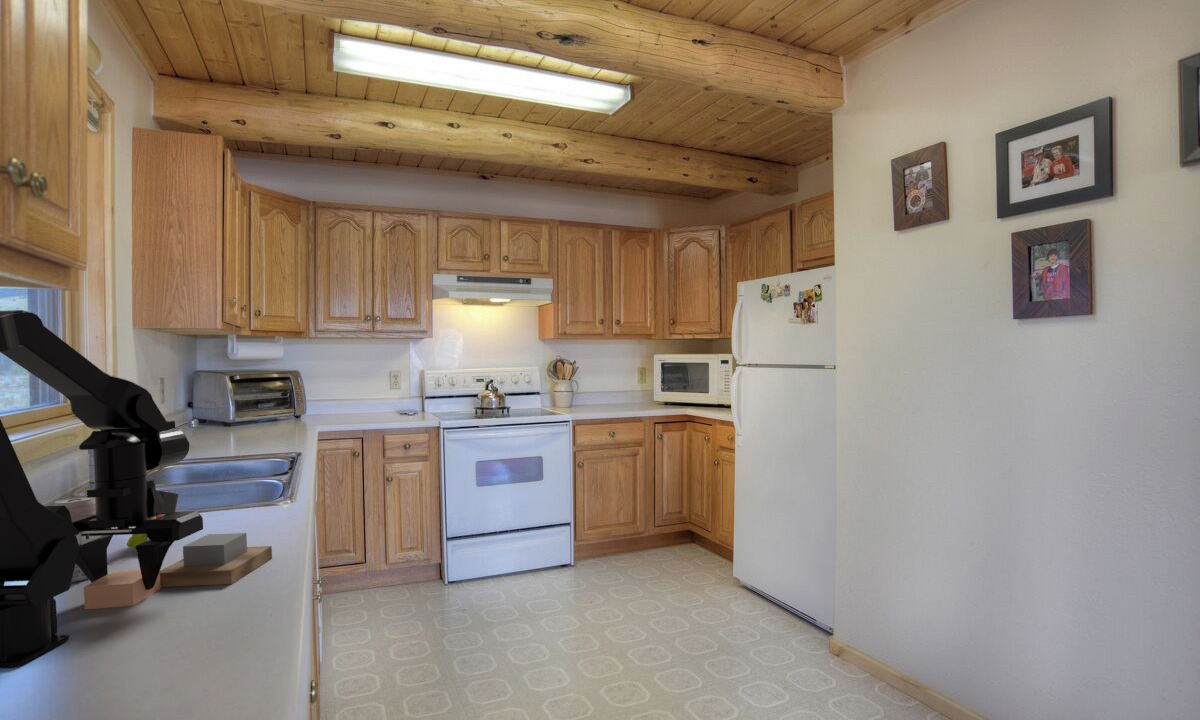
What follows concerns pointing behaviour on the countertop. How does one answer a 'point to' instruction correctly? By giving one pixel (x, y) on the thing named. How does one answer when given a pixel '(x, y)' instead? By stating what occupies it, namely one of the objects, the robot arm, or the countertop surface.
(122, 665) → the countertop surface
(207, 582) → the walnut tower base
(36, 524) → the robot arm
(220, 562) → the gray brick
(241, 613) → the countertop surface
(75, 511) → the energy drink
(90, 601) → the terracotta brick
